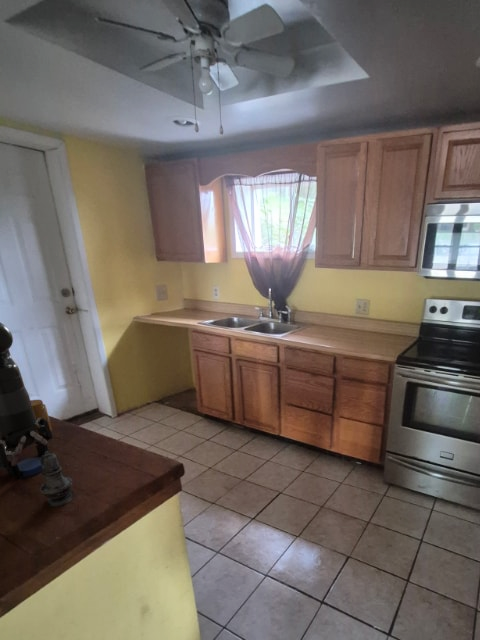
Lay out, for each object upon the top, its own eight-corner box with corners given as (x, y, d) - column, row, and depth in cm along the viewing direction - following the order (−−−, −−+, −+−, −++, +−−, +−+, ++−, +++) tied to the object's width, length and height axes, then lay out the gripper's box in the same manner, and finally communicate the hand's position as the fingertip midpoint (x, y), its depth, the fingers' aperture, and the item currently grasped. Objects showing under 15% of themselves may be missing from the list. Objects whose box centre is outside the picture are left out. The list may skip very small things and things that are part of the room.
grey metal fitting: (81, 495, 81) (68, 448, 76) (54, 511, 76) (38, 461, 71) (66, 487, 84) (52, 440, 79) (38, 501, 79) (22, 453, 74)
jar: (26, 440, 103) (15, 406, 99) (41, 431, 108) (31, 398, 104) (43, 441, 102) (33, 407, 98) (58, 432, 107) (48, 399, 103)
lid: (51, 464, 92) (49, 458, 91) (32, 478, 87) (30, 472, 86) (30, 462, 93) (28, 456, 92) (10, 475, 87) (7, 469, 87)
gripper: (-2, 422, 76) (21, 487, 83) (50, 396, 89) (66, 453, 96) (-34, 420, 77) (-9, 484, 84) (22, 394, 90) (40, 451, 97)
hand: (31, 467), depth 90 cm, fingers open, 8 cm apart
